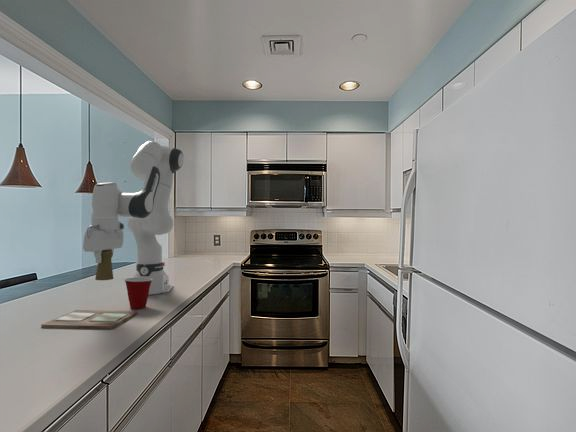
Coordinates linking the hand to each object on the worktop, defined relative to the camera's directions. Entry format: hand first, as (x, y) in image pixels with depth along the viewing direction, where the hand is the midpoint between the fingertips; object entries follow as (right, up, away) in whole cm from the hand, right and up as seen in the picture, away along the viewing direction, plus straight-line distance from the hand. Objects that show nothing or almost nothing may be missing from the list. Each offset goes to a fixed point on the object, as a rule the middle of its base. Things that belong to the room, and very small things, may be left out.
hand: (103, 262), depth 131 cm
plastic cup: (+8, -20, +11) cm, 24 cm away
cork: (0, -7, 0) cm, 7 cm away
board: (0, -20, -6) cm, 21 cm away
